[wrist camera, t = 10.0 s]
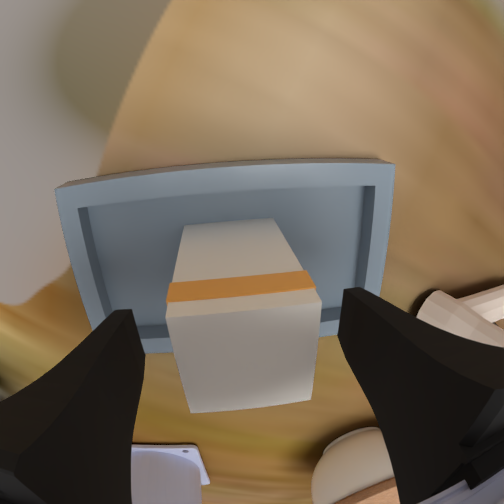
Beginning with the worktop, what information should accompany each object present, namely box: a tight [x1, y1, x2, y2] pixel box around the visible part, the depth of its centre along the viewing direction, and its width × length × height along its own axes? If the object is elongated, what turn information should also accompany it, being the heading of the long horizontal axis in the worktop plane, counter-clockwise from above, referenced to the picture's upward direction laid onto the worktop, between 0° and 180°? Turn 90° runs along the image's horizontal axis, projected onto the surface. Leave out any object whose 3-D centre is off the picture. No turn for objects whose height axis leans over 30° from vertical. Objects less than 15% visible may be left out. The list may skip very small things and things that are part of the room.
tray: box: [55, 158, 395, 353], centre depth 15 cm, size 15×9×2 cm, turn 92°
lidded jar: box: [311, 427, 400, 504], centre depth 21 cm, size 11×11×9 cm
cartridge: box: [165, 218, 322, 413], centre depth 12 cm, size 4×4×7 cm
